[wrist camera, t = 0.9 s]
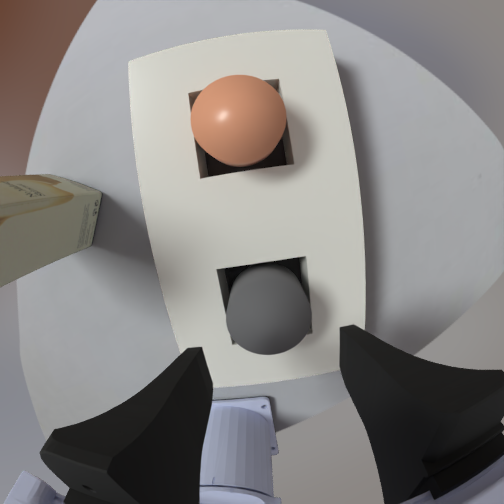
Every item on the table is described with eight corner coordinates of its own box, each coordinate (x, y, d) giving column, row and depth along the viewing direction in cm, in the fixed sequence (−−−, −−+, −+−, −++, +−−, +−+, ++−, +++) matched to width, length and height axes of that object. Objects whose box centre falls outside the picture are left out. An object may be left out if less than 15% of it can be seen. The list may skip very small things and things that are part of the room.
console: (350, 343, 20) (362, 364, 17) (199, 364, 20) (193, 388, 17) (315, 49, 14) (325, 29, 12) (145, 77, 15) (128, 61, 12)
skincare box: (105, 191, 17) (-39, 212, 5) (93, 247, 18) (-33, 313, 6) (47, 172, 16) (-76, 181, 4) (38, 222, 17) (-75, 260, 5)
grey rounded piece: (304, 322, 17) (313, 348, 14) (237, 332, 17) (234, 359, 14) (298, 257, 16) (308, 273, 13) (224, 268, 16) (218, 286, 13)
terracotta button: (285, 161, 15) (293, 155, 12) (207, 173, 15) (197, 170, 12) (273, 89, 14) (277, 69, 11) (197, 101, 14) (185, 84, 11)
